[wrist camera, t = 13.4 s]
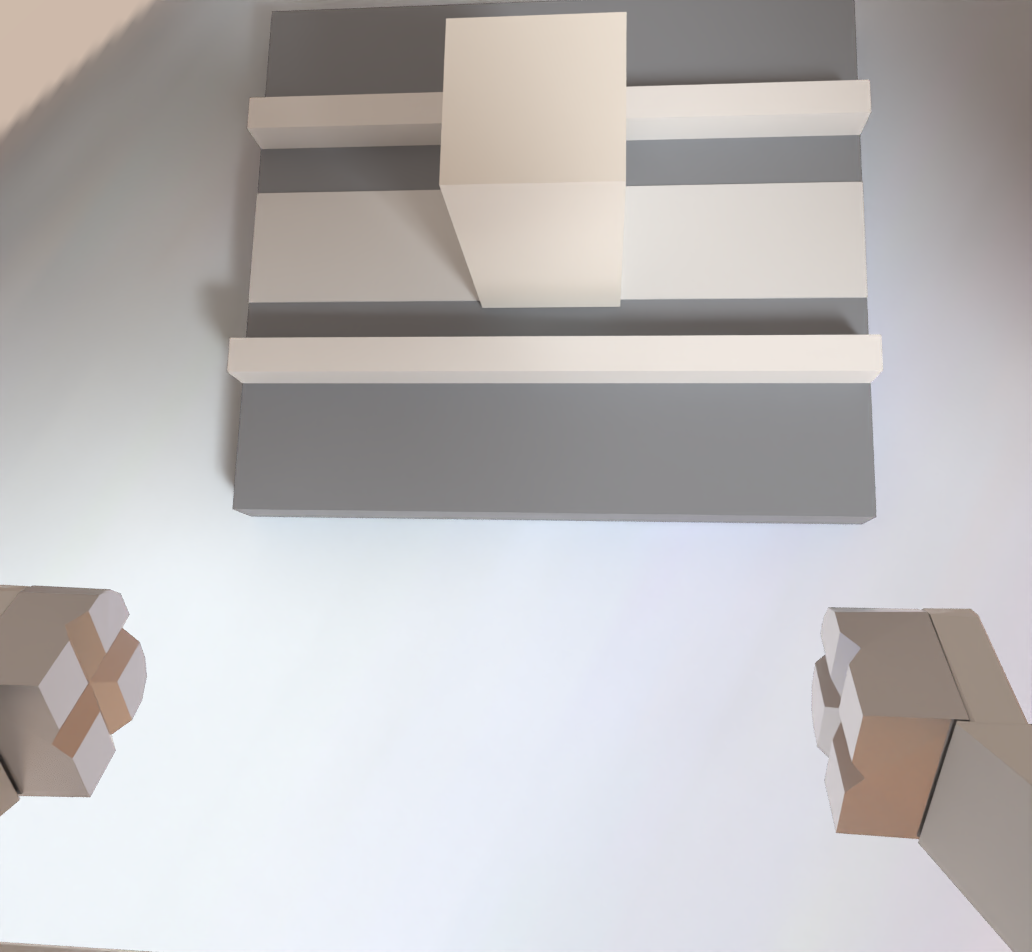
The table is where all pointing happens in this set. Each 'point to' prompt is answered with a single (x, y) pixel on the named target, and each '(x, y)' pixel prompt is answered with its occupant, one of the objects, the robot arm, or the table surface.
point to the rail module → (537, 156)
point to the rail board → (564, 330)
